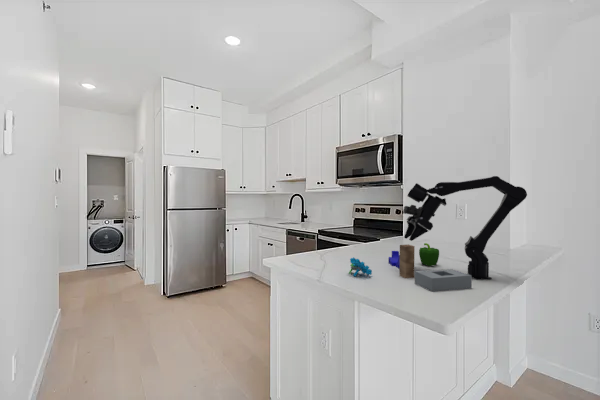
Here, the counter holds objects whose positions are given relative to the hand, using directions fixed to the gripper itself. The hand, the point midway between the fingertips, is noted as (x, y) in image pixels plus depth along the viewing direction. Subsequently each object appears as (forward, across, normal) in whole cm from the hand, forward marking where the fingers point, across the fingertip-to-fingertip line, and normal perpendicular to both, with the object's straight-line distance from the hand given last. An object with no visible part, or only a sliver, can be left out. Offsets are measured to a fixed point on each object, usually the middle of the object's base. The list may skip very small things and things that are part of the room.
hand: (407, 239), depth 126 cm
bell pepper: (+4, -15, +18) cm, 24 cm away
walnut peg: (+13, +7, +6) cm, 16 cm away
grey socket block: (+8, +18, +15) cm, 25 cm away
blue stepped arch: (+13, -11, +6) cm, 18 cm away
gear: (+24, +8, -9) cm, 26 cm away
